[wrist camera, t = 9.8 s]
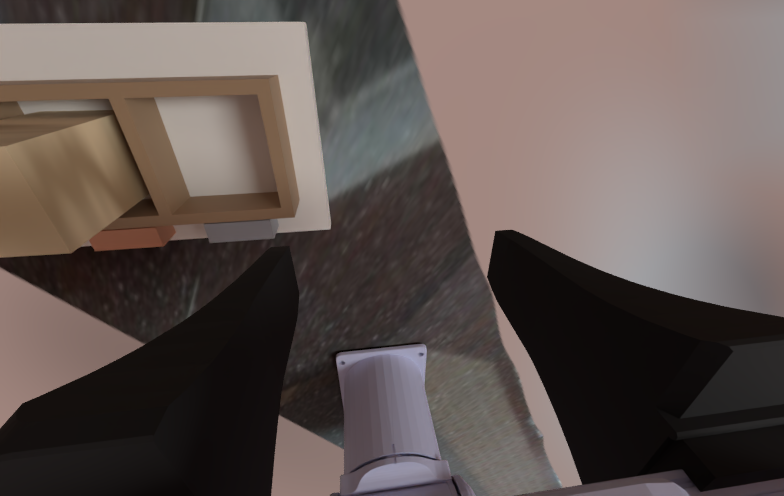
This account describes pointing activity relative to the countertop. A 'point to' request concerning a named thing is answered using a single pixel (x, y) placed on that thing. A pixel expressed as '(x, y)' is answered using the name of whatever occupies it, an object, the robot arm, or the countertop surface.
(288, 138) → the socket board
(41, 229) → the maple peg
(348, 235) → the countertop surface
